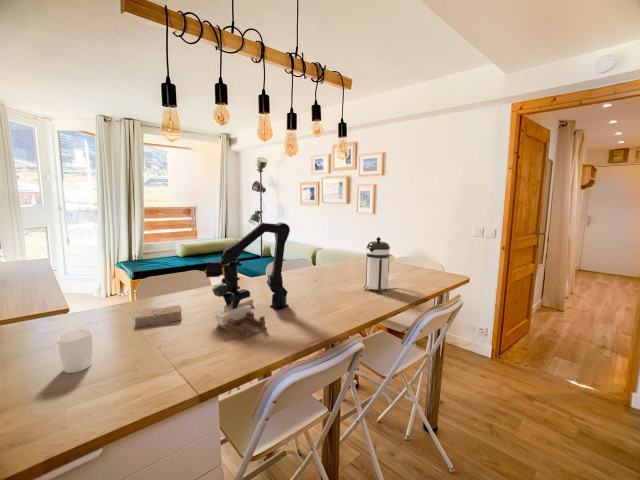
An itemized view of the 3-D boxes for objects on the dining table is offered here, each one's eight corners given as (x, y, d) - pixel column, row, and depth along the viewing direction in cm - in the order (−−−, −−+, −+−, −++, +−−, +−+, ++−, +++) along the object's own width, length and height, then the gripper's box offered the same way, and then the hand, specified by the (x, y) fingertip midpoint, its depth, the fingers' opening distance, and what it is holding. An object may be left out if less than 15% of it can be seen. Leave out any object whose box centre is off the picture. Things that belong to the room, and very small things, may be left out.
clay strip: (248, 305, 145) (248, 298, 145) (253, 306, 144) (252, 299, 143) (224, 313, 134) (224, 306, 133) (228, 315, 132) (228, 307, 132)
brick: (135, 328, 118) (134, 316, 118) (137, 320, 126) (137, 309, 125) (181, 321, 125) (181, 310, 125) (181, 314, 133) (181, 304, 132)
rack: (241, 319, 127) (241, 307, 127) (266, 328, 119) (266, 316, 118) (216, 329, 118) (216, 316, 117) (242, 340, 109) (241, 326, 108)
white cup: (73, 360, 94) (70, 329, 93) (100, 359, 95) (97, 329, 93) (53, 375, 86) (49, 341, 85) (83, 374, 87) (79, 341, 86)
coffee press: (394, 294, 164) (397, 239, 160) (365, 293, 165) (367, 238, 161) (387, 284, 182) (390, 235, 178) (361, 284, 182) (362, 234, 178)
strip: (246, 312, 126) (246, 304, 126) (251, 314, 125) (251, 306, 124) (217, 323, 115) (217, 314, 115) (222, 325, 113) (222, 316, 113)
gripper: (202, 275, 132) (203, 310, 134) (229, 283, 121) (230, 320, 123) (223, 271, 141) (224, 303, 143) (250, 277, 130) (251, 312, 132)
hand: (231, 309), depth 135 cm, fingers open, 3 cm apart
